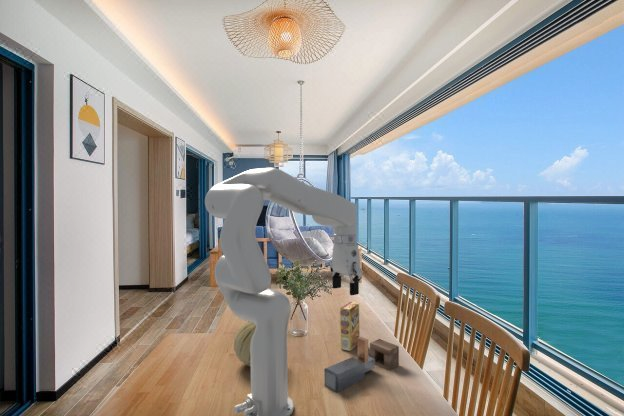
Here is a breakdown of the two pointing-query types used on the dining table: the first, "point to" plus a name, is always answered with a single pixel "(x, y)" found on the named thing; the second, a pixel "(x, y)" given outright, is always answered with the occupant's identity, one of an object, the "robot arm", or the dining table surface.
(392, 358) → the socket
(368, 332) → the dining table surface
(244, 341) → the cantaloupe
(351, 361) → the dark grey rectangular box
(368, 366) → the sliding latch bolt
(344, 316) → the candy box
